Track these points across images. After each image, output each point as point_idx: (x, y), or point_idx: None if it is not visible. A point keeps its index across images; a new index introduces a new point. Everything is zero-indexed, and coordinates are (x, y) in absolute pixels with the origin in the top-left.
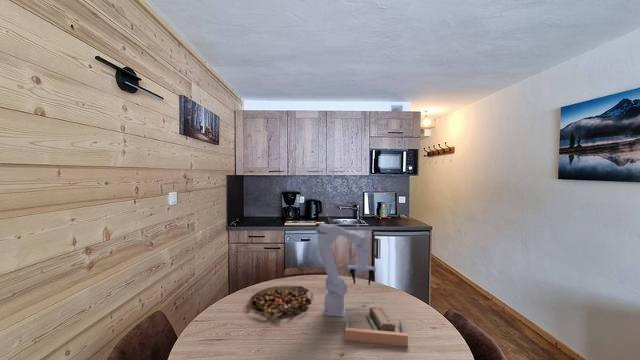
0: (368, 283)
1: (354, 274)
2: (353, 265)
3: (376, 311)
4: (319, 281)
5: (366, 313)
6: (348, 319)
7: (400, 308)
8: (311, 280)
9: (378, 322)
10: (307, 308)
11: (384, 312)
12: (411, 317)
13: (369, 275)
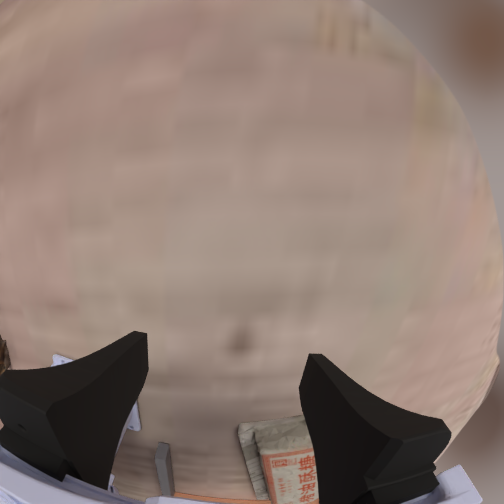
0: (301, 403)
1: (109, 475)
2: (9, 493)
3: (281, 474)
4: (26, 30)
5: (240, 432)
6: (163, 477)
7: (422, 348)
8: (3, 36)
9: (270, 500)
10: (6, 356)
11: (314, 472)
12: (418, 405)
13: (327, 494)
